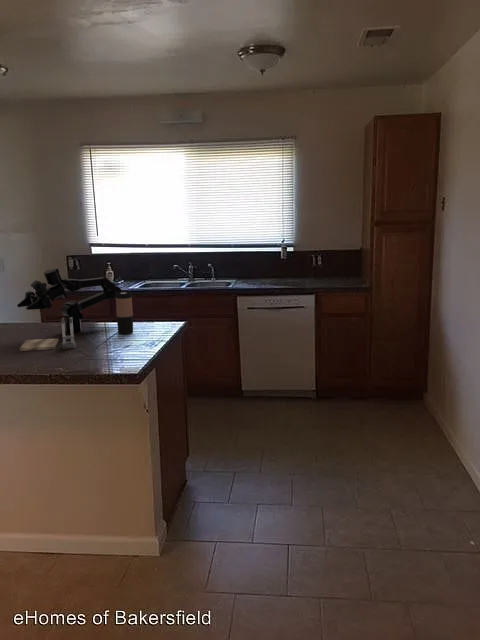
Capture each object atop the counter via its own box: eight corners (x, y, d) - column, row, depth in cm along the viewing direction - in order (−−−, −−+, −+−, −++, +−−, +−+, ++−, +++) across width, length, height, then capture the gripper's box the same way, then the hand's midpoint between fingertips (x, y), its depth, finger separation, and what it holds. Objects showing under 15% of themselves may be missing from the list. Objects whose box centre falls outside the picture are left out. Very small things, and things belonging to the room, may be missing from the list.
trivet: (58, 341, 242) (58, 338, 241) (54, 349, 228) (53, 346, 228) (26, 342, 239) (26, 340, 239) (19, 350, 226) (19, 348, 225)
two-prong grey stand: (75, 345, 234) (73, 316, 231) (74, 348, 230) (72, 319, 227) (63, 346, 233) (61, 317, 230) (62, 348, 228) (59, 319, 226)
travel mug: (114, 333, 254) (111, 292, 250) (124, 330, 261) (122, 290, 257) (126, 335, 251) (124, 294, 246) (136, 332, 257) (134, 291, 253)
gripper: (36, 275, 252) (6, 289, 243) (55, 279, 240) (24, 293, 230) (45, 296, 257) (15, 310, 248) (64, 301, 244) (33, 316, 235)
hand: (22, 307), depth 240 cm, fingers open, 9 cm apart
